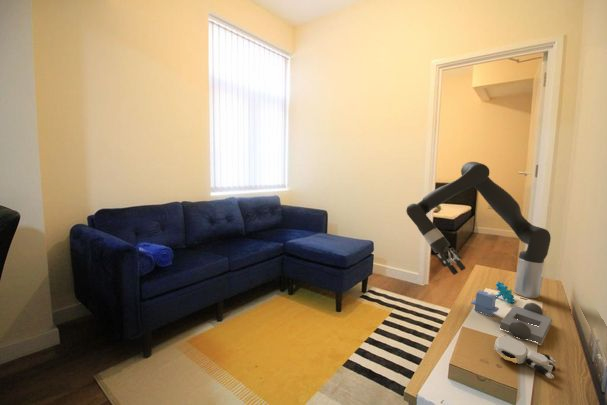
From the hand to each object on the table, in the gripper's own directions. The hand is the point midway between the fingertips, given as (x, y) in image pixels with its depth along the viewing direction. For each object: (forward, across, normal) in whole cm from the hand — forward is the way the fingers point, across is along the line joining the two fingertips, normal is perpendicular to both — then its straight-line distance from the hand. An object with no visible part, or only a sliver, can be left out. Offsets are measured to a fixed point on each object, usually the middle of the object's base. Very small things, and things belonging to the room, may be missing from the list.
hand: (460, 271), depth 123 cm
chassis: (+27, 0, -8) cm, 28 cm away
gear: (+19, +20, +1) cm, 28 cm away
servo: (+18, 0, +2) cm, 18 cm away
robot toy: (+30, -25, -10) cm, 41 cm away
